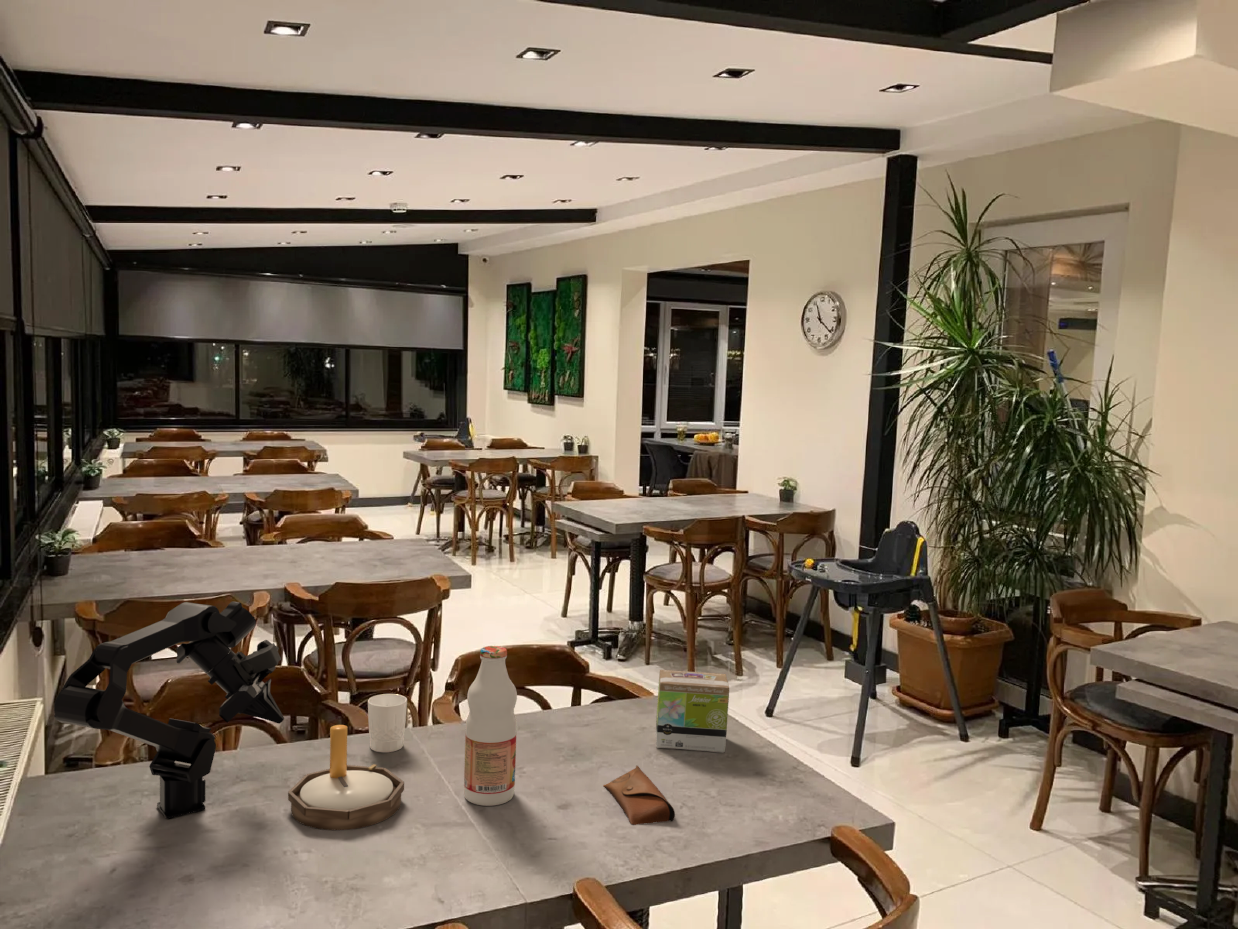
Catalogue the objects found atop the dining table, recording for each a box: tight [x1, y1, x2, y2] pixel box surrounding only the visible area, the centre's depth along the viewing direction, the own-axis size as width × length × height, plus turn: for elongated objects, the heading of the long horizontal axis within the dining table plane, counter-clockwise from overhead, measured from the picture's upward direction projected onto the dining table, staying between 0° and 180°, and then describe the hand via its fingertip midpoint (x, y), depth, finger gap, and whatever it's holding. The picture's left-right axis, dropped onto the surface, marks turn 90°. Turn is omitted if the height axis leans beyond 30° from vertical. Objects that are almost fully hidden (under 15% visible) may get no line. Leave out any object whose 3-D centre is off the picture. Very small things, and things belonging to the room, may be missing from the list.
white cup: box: [367, 693, 408, 753], centre depth 199 cm, size 8×8×10 cm
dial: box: [300, 724, 393, 810], centre depth 171 cm, size 16×16×10 cm
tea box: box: [655, 669, 730, 754], centre depth 208 cm, size 15×10×15 cm
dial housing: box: [287, 763, 405, 831], centre depth 172 cm, size 19×19×4 cm
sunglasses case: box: [603, 765, 676, 826], centre depth 178 cm, size 18×7×7 cm
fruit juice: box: [463, 645, 518, 807], centre depth 177 cm, size 9×9×28 cm
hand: (282, 721), depth 175 cm, fingers closed
